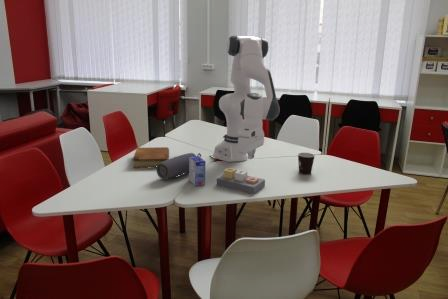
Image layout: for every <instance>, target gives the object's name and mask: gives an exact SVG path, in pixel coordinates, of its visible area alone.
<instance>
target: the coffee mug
mask: <svg viewBox="0 0 448 299" xmlns="http://www.w3.org/2000/svg"><path fill="white" fill-rule="evenodd" d="M297 158H298V173H299V174H301V175H306V176H307V175H308V176H309V175H311V174H312V169H313V165H314V161H315V158H316V157H315V154H314V153H311V152H298V154H297Z"/></svg>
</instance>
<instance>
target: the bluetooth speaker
mask: <svg viewBox="0 0 448 299" xmlns="http://www.w3.org/2000/svg"><path fill="white" fill-rule="evenodd" d="M193 156H197V155H196V154H195V153H193V152H188V153H184V154H180V155H176V156H174V157H172V158H169V159H168V160H166V161H163V162H161V163H159V164H158V165H157V168H155V169H156V170H155V171H156V174H157V176H158V177H159V178H160V179H162V180H167V179H172V178H171V177H176V176H178V175H181V174H183V173H187V172H189V157H193ZM176 178H177V177H176Z"/></svg>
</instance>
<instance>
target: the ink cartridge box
mask: <svg viewBox="0 0 448 299" xmlns="http://www.w3.org/2000/svg"><path fill="white" fill-rule="evenodd" d="M188 180H189V181H190V182H191V183H192V185H194V186H195V187H198V186H205V185H206V160H205V159H203V158H202V154H201V153H197V155H196V156H193V157H189V171H188Z"/></svg>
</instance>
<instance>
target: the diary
mask: <svg viewBox="0 0 448 299" xmlns="http://www.w3.org/2000/svg"><path fill="white" fill-rule="evenodd" d="M168 159H170V148H169V147H168V146H167V147H166V146H165V147H160V146H159V147H136V150H135V152H134V155H133V158H132V161H133V162H134V163H133V167H132V168H133V169H149V168H148V167H156V166H157V165H158V164H159V163H161V162H163V161H166V160H168Z"/></svg>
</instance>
